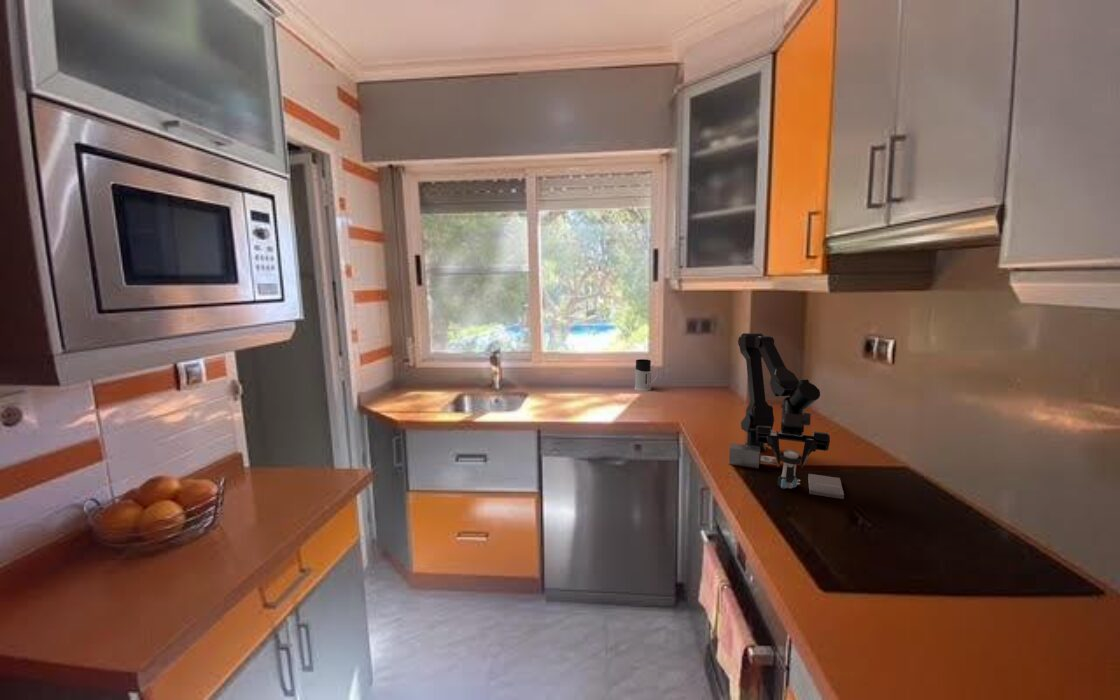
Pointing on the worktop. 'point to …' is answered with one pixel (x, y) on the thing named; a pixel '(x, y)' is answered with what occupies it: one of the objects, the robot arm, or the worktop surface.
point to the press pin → (768, 460)
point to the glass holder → (643, 375)
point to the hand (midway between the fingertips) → (790, 465)
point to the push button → (789, 469)
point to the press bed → (825, 486)
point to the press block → (744, 455)
